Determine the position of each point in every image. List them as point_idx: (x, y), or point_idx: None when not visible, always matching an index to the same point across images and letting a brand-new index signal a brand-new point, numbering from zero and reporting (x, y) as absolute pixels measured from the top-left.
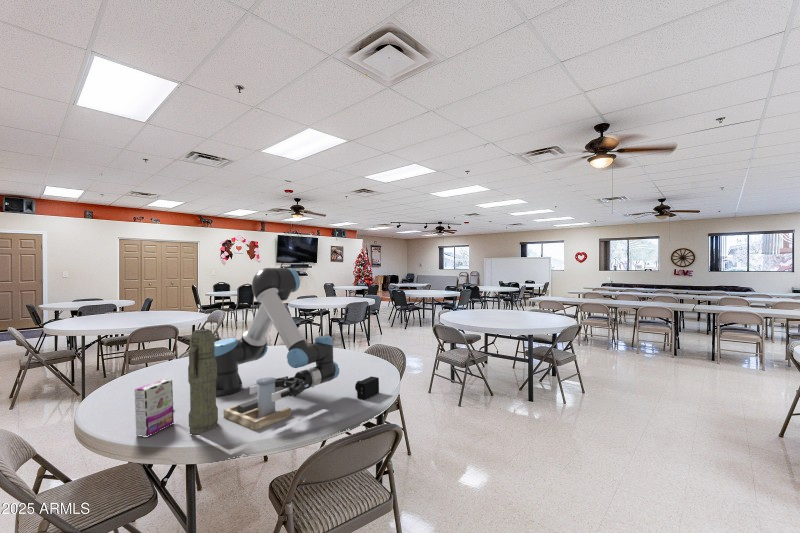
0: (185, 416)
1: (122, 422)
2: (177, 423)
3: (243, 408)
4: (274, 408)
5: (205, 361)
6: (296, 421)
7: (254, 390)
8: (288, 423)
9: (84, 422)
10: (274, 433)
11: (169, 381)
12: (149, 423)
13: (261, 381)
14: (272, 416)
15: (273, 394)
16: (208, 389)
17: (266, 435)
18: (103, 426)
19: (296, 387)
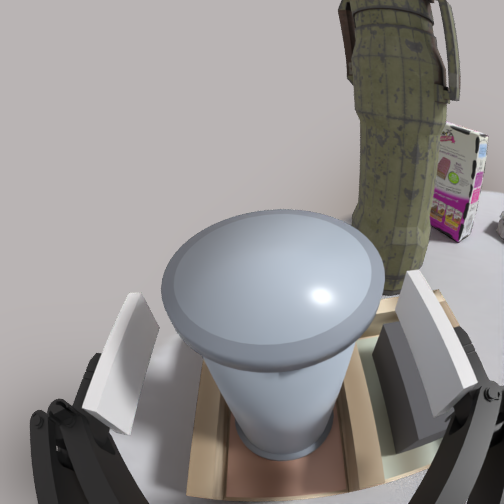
0: (494, 264)
1: (491, 210)
2: (459, 248)
3: (382, 327)
4: (238, 423)
5: (356, 38)
6: (158, 486)
7: (409, 316)
8: (175, 459)
9: (501, 194)
10: (161, 376)
11: (470, 133)
12: None
13: (268, 227)
14: (200, 389)
15: (128, 300)
16: (363, 141)
17: (176, 355)
18: (482, 198)
19: (48, 462)
